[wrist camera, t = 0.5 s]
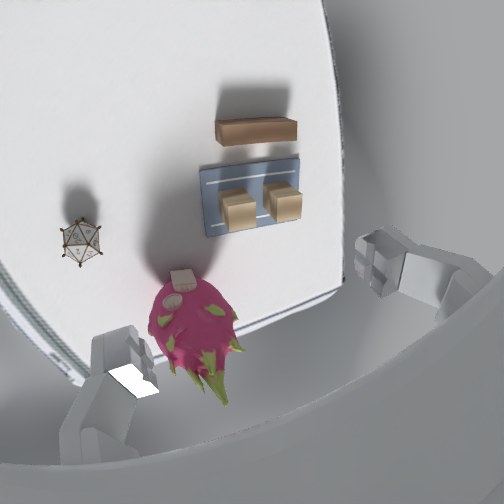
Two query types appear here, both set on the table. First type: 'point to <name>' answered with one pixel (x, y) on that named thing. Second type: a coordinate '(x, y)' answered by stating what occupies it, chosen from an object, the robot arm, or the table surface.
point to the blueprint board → (251, 181)
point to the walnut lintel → (255, 130)
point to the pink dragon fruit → (194, 329)
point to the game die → (81, 241)
